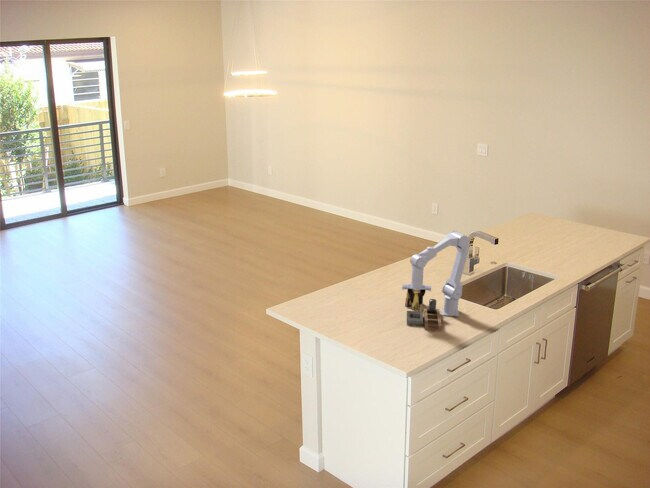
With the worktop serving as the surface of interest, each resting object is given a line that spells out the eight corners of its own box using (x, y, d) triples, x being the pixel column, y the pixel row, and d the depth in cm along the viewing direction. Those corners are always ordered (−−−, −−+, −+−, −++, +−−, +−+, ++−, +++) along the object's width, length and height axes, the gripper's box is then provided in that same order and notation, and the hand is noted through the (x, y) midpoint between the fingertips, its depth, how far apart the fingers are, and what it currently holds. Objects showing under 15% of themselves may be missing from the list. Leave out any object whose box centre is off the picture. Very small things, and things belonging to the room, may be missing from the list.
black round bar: (428, 314, 375) (429, 298, 372) (435, 315, 374) (436, 299, 371) (428, 317, 371) (429, 301, 368) (435, 317, 371) (436, 301, 368)
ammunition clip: (407, 307, 383) (408, 286, 379) (405, 306, 384) (406, 285, 380) (422, 303, 388) (424, 283, 384) (420, 302, 390) (422, 282, 386)
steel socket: (406, 315, 373) (406, 310, 372) (422, 316, 373) (422, 311, 372) (406, 324, 362) (407, 320, 361) (422, 325, 361) (423, 321, 360)
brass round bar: (411, 307, 367) (412, 291, 364) (418, 307, 367) (419, 291, 364) (411, 310, 364) (412, 293, 361) (418, 310, 363) (420, 294, 360)
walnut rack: (423, 312, 377) (424, 308, 376) (439, 313, 376) (439, 309, 375) (424, 329, 357) (425, 325, 356) (441, 330, 356) (441, 326, 355)
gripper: (402, 280, 357) (401, 305, 361) (432, 281, 355) (430, 306, 360) (402, 275, 363) (401, 299, 368) (431, 276, 362) (429, 301, 366)
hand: (415, 302), depth 364 cm, fingers closed on brass round bar, 4 cm apart
